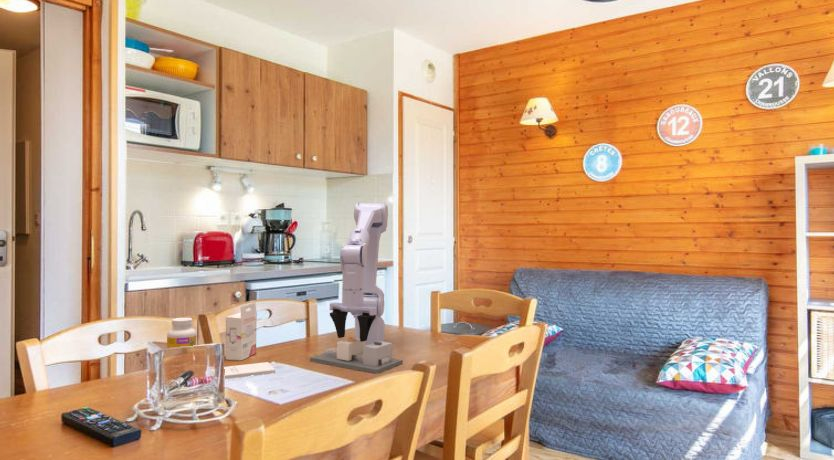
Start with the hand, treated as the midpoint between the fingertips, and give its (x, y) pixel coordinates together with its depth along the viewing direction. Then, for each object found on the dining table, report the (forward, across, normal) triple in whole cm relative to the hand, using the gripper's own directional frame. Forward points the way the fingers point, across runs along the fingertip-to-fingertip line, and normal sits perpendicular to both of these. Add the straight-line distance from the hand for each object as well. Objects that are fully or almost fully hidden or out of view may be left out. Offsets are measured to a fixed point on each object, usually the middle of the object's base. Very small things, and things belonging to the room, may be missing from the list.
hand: (352, 339), depth 147 cm
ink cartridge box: (+6, -28, -13) cm, 32 cm away
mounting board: (+6, +2, 0) cm, 6 cm away
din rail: (+6, +2, 0) cm, 6 cm away
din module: (+5, 0, 0) cm, 5 cm away
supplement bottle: (+6, -30, -31) cm, 43 cm away
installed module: (+5, +9, 0) cm, 10 cm away
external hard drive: (+7, -15, -23) cm, 28 cm away
